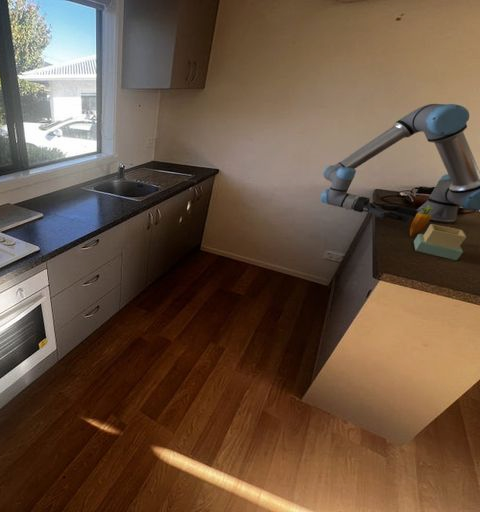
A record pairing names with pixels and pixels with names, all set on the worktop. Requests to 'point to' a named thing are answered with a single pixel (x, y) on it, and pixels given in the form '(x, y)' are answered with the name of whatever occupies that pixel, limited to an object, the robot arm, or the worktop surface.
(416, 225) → the carrot
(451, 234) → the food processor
